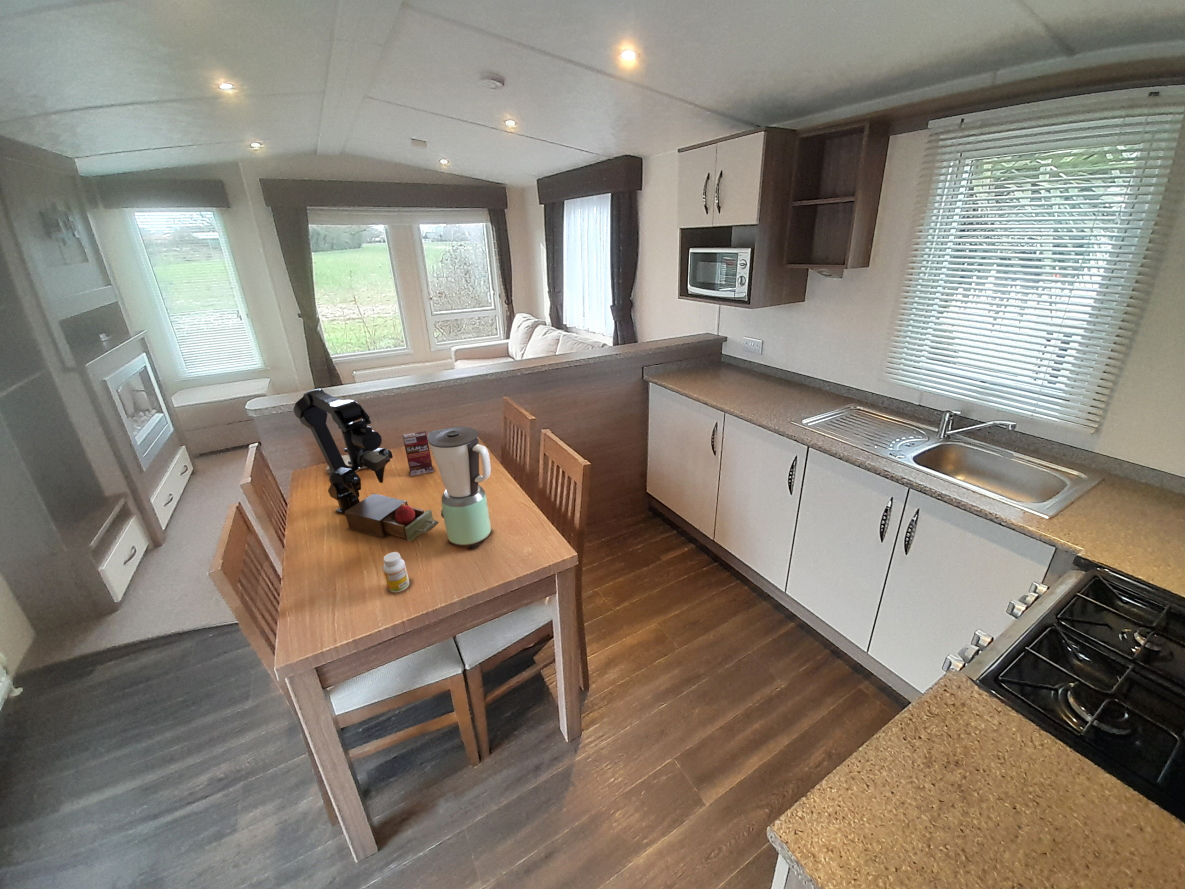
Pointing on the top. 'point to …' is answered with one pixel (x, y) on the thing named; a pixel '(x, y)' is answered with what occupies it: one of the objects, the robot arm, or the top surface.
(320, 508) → the top surface
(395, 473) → the top surface
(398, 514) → the onion
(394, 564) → the supplement bottle
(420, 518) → the drawer
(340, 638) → the top surface
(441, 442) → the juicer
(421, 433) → the supplement box
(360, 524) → the cabinet
